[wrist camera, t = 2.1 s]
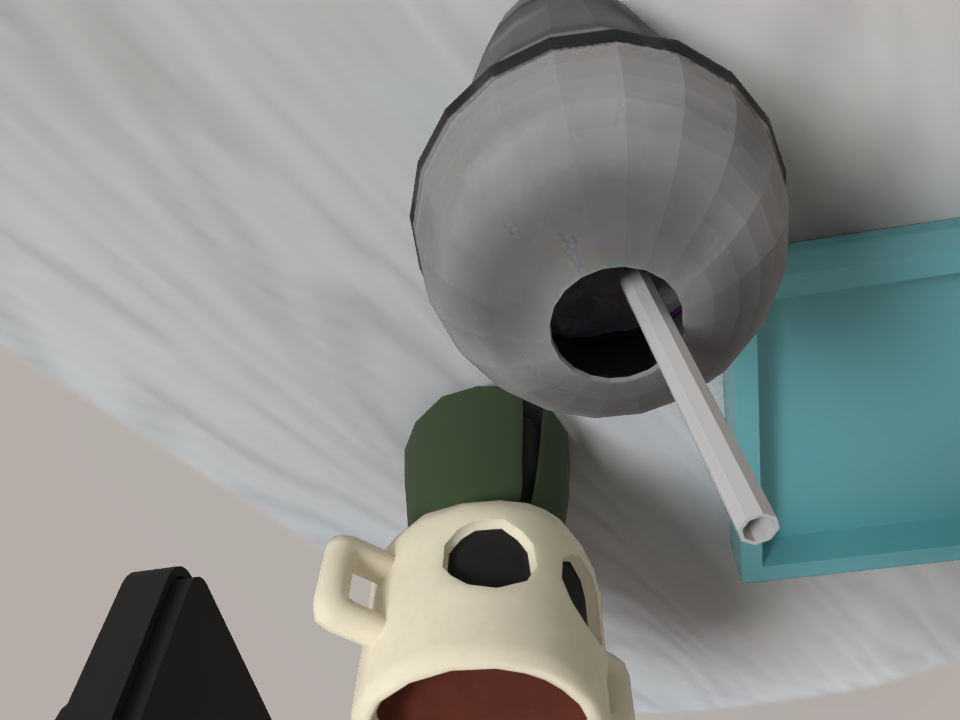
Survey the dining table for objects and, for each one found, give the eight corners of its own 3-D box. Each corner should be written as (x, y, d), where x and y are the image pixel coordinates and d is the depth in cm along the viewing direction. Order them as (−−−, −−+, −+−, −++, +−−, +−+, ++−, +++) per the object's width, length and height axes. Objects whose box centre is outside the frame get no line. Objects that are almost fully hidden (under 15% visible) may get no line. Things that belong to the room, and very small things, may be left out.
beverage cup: (442, -75, 26) (324, 234, 9) (705, -68, 25) (1088, 256, 9) (443, 173, 30) (361, 713, 13) (670, 180, 29) (888, 730, 13)
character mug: (657, 444, 35) (725, 748, 24) (552, 555, 39) (570, 866, 28) (411, 310, 32) (364, 588, 21) (320, 444, 36) (239, 743, 25)
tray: (1149, 188, 29) (1191, 216, 27) (1078, 506, 36) (1107, 543, 35) (717, 254, 31) (730, 283, 29) (731, 545, 38) (742, 583, 36)
